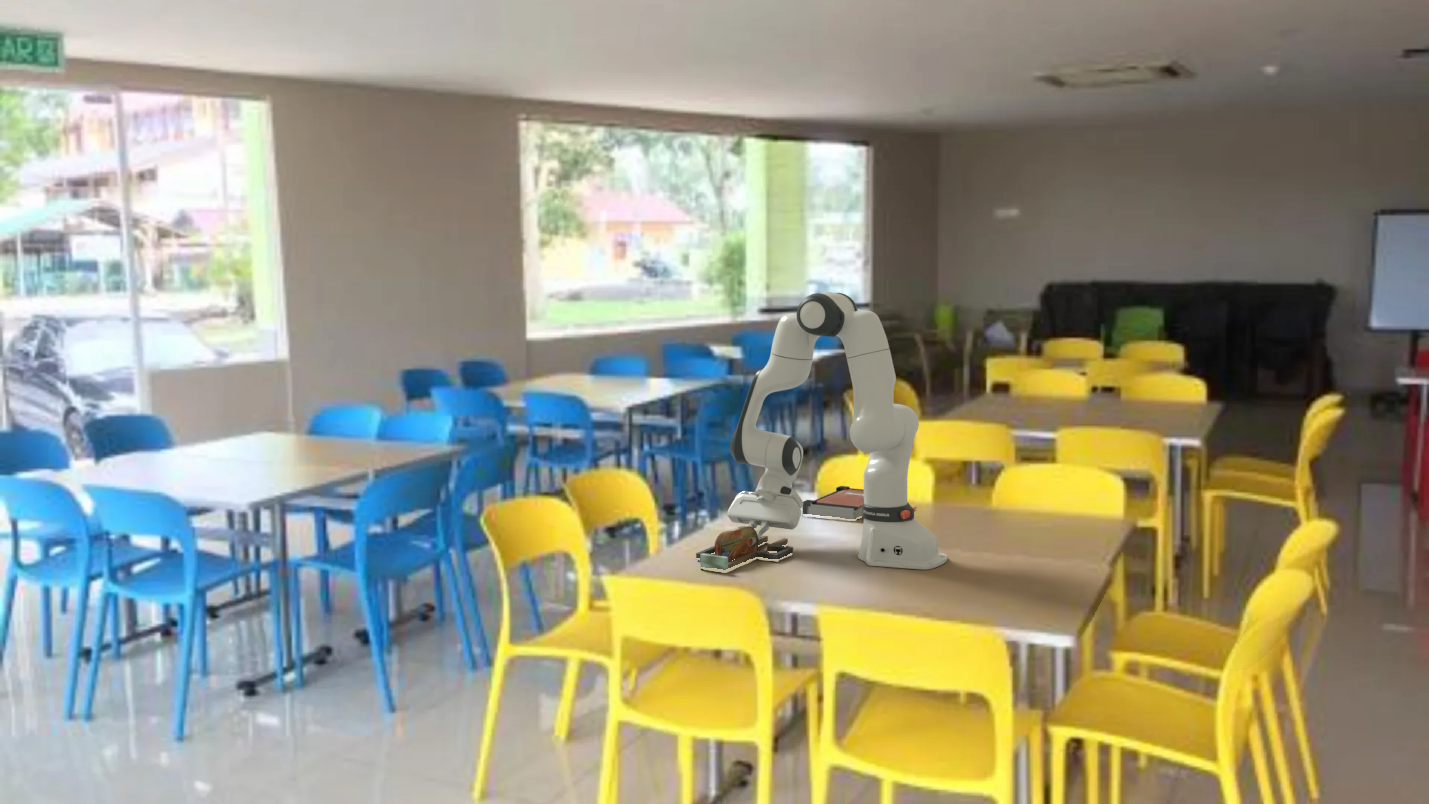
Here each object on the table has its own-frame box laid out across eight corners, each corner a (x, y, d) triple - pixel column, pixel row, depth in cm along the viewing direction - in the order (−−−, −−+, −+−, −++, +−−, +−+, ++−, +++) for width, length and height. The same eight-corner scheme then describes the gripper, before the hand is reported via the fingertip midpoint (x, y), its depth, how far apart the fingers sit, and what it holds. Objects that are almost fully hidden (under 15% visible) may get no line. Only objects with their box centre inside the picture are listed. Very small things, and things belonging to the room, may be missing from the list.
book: (856, 524, 344) (856, 507, 344) (802, 518, 353) (802, 501, 353) (892, 506, 366) (892, 490, 366) (840, 501, 375) (840, 485, 375)
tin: (722, 568, 298) (721, 535, 297) (712, 566, 300) (711, 533, 299) (759, 555, 310) (758, 523, 309) (750, 553, 312) (749, 522, 311)
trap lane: (807, 548, 316) (807, 533, 315) (746, 576, 290) (746, 560, 289) (745, 540, 326) (744, 526, 326) (680, 567, 300) (680, 551, 300)
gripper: (734, 484, 321) (715, 527, 314) (800, 490, 310) (782, 535, 303) (743, 497, 325) (725, 539, 319) (809, 504, 314) (791, 548, 307)
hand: (753, 537), depth 311 cm, fingers closed, pressing on tin
